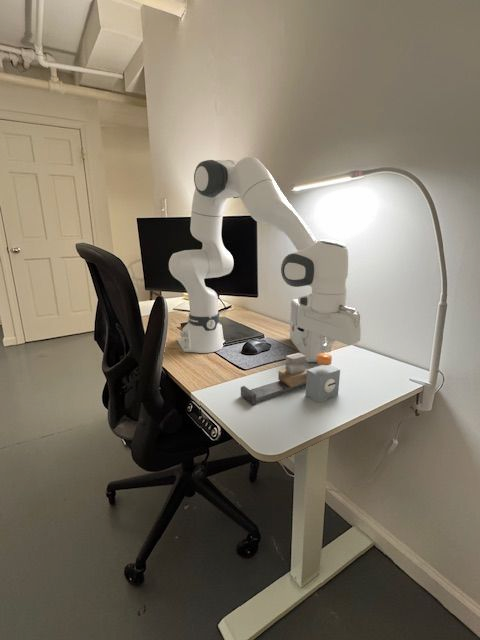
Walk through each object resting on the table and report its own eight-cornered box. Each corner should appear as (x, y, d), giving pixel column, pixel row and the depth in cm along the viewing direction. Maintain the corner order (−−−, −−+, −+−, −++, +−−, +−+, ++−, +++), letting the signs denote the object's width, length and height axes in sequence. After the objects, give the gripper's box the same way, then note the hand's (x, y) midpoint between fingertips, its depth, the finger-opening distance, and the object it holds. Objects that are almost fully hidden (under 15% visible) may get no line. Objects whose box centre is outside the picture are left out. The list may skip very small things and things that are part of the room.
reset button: (313, 361, 93) (314, 355, 92) (323, 358, 95) (324, 352, 94) (324, 366, 90) (324, 359, 89) (334, 363, 92) (334, 356, 91)
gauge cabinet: (305, 395, 95) (306, 369, 93) (325, 388, 99) (327, 363, 97) (319, 403, 91) (321, 377, 88) (339, 395, 95) (341, 370, 92)
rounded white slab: (284, 338, 144) (285, 298, 139) (301, 337, 144) (303, 297, 139) (302, 364, 116) (305, 315, 111) (323, 363, 117) (327, 315, 112)
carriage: (278, 379, 101) (279, 355, 99) (298, 373, 105) (299, 350, 103) (291, 387, 96) (292, 362, 94) (311, 380, 100) (312, 356, 98)
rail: (240, 396, 95) (240, 386, 94) (304, 376, 107) (304, 367, 106) (252, 405, 90) (252, 395, 89) (317, 383, 102) (318, 374, 101)
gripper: (368, 308, 81) (363, 360, 84) (310, 294, 97) (308, 338, 101) (351, 311, 78) (346, 365, 81) (294, 297, 94) (292, 342, 98)
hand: (324, 350), depth 91 cm, fingers closed
